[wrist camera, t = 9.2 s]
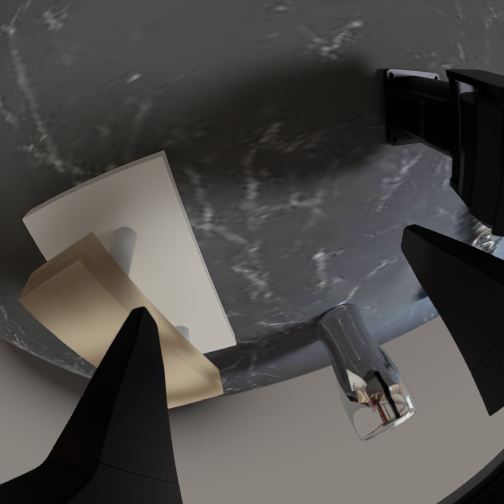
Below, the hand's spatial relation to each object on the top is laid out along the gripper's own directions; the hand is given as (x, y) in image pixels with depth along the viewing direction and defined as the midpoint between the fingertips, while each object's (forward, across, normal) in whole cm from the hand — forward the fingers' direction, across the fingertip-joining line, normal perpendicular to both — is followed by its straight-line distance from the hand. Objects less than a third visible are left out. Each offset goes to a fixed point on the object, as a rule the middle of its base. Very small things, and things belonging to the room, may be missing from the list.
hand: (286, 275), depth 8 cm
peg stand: (+12, +10, +8) cm, 18 cm away
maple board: (+6, +10, +8) cm, 14 cm away
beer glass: (+12, -8, +22) cm, 26 cm away
